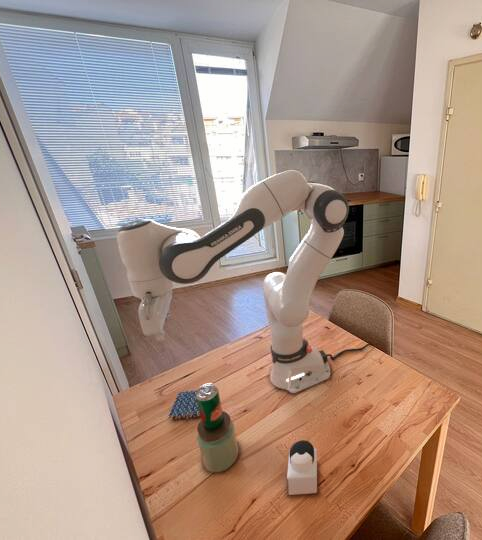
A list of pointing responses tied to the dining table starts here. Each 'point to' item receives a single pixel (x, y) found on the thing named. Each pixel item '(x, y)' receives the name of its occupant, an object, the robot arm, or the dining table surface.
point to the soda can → (210, 407)
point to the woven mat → (185, 405)
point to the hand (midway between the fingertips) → (164, 328)
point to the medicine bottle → (302, 468)
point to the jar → (218, 445)
